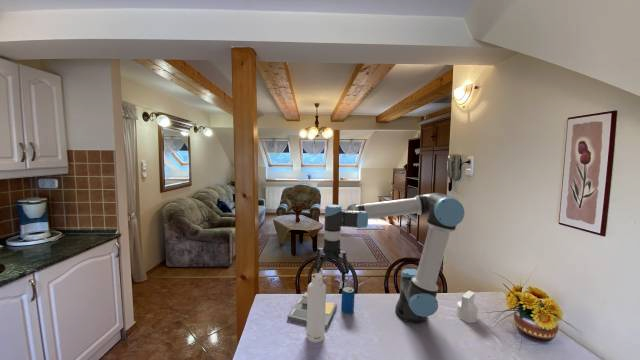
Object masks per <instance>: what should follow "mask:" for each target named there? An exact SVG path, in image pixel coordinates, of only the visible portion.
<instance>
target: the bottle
mask: <svg viewBox="0 0 640 360" xmlns="http://www.w3.org/2000/svg"><path fill="white" fill-rule="evenodd" d="M313 276H315V277H313ZM323 278H324V275H323V273H322V274H320V273H317V272H316V273H312V274H311V282H310V283H309V284H308V285H307V292H308V294H307V324H306V334H305V335H306V339H307V340H308V341H309V342H311V343H321V342H323V340H325V335H326V333H325V332H326V331H325V330H326V329H325V307H326V302H327V285H326V283H324V282H323V281H324V280H323Z"/></svg>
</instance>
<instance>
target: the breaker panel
mask: <svg viewBox="0 0 640 360" xmlns="http://www.w3.org/2000/svg"><path fill="white" fill-rule="evenodd" d="M337 307H338V304H336V303H335V302H334V303H333V302H329V301H326V307H325V330H328V328H329V326H330V324H331V321H332V320H333V317H334V314H335V313H336V310H337ZM287 321H291V322H294V323H298V324H303V325H307V304H304V303H303V296H301V297H300V298H299V300H298V301H297V302H296V304H295V305H294V306H293V307H292V310H290V312H289V313H288V315H287Z"/></svg>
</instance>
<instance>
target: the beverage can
mask: <svg viewBox="0 0 640 360" xmlns="http://www.w3.org/2000/svg"><path fill="white" fill-rule="evenodd" d="M355 293H356V292H355V288H353V287H352V286H344V287H342V290H341V303H340V305H341V307H340V310H341V312H342V313H343V314H345V315H351V314H353V313H354V312H355Z"/></svg>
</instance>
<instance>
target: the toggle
mask: <svg viewBox="0 0 640 360" xmlns="http://www.w3.org/2000/svg"><path fill="white" fill-rule="evenodd" d="M307 294H308V291H305V292H304V293H303V294H302V297H303V303H304V304H307Z"/></svg>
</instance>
